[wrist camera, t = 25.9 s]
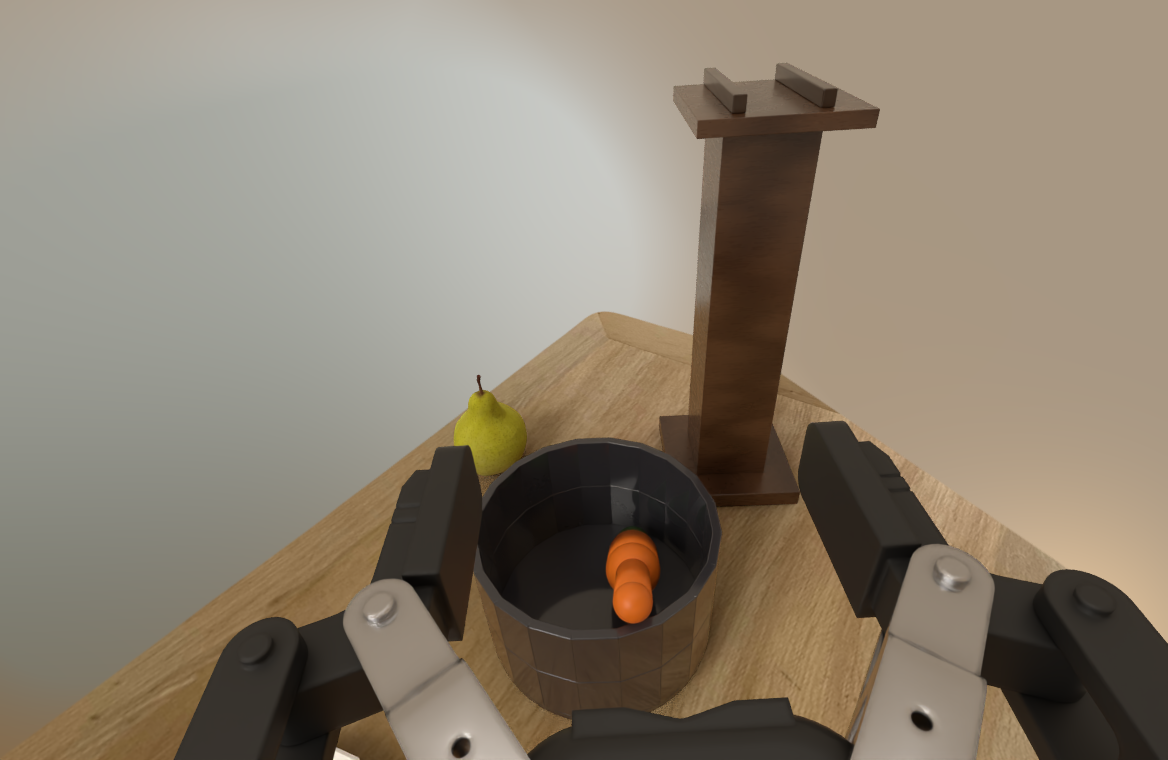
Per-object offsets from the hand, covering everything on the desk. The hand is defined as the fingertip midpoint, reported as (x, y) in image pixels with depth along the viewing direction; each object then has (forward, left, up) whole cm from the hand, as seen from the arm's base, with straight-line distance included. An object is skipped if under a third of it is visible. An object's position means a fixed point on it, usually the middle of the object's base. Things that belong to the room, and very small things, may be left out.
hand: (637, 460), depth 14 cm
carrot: (-1, -13, -24) cm, 28 cm away
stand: (-10, -30, -30) cm, 43 cm away
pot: (+2, -15, -30) cm, 33 cm away
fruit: (+12, -31, -30) cm, 45 cm away
